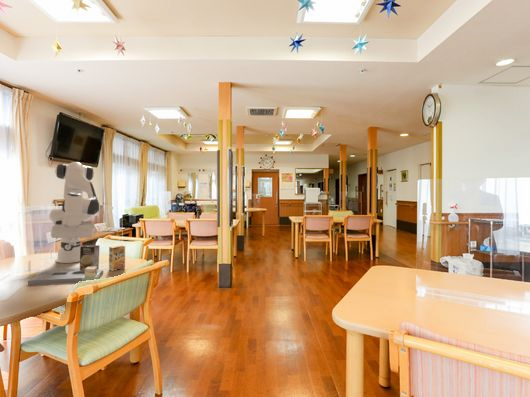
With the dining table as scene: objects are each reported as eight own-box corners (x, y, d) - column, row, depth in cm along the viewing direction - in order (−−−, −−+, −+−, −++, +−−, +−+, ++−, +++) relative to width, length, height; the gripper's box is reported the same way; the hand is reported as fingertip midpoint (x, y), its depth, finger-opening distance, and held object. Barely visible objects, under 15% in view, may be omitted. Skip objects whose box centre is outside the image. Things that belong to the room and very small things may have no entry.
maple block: (87, 274, 161) (87, 266, 161) (97, 274, 163) (97, 266, 163) (84, 277, 156) (84, 269, 156) (94, 276, 158) (94, 268, 158)
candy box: (112, 271, 178) (112, 247, 177) (108, 270, 180) (109, 247, 179) (125, 268, 185) (125, 245, 185) (121, 267, 187) (121, 245, 187)
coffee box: (78, 271, 174) (79, 246, 174) (85, 269, 181) (85, 244, 181) (93, 272, 175) (94, 247, 174) (99, 269, 181) (99, 245, 181)
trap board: (41, 276, 162) (41, 272, 162) (103, 273, 172) (103, 269, 172) (27, 285, 147) (27, 280, 147) (95, 281, 157) (95, 277, 157)
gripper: (95, 220, 163) (95, 244, 163) (55, 220, 157) (54, 244, 157) (92, 222, 157) (91, 246, 157) (50, 221, 151) (49, 246, 151)
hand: (72, 245), depth 157 cm, fingers closed
